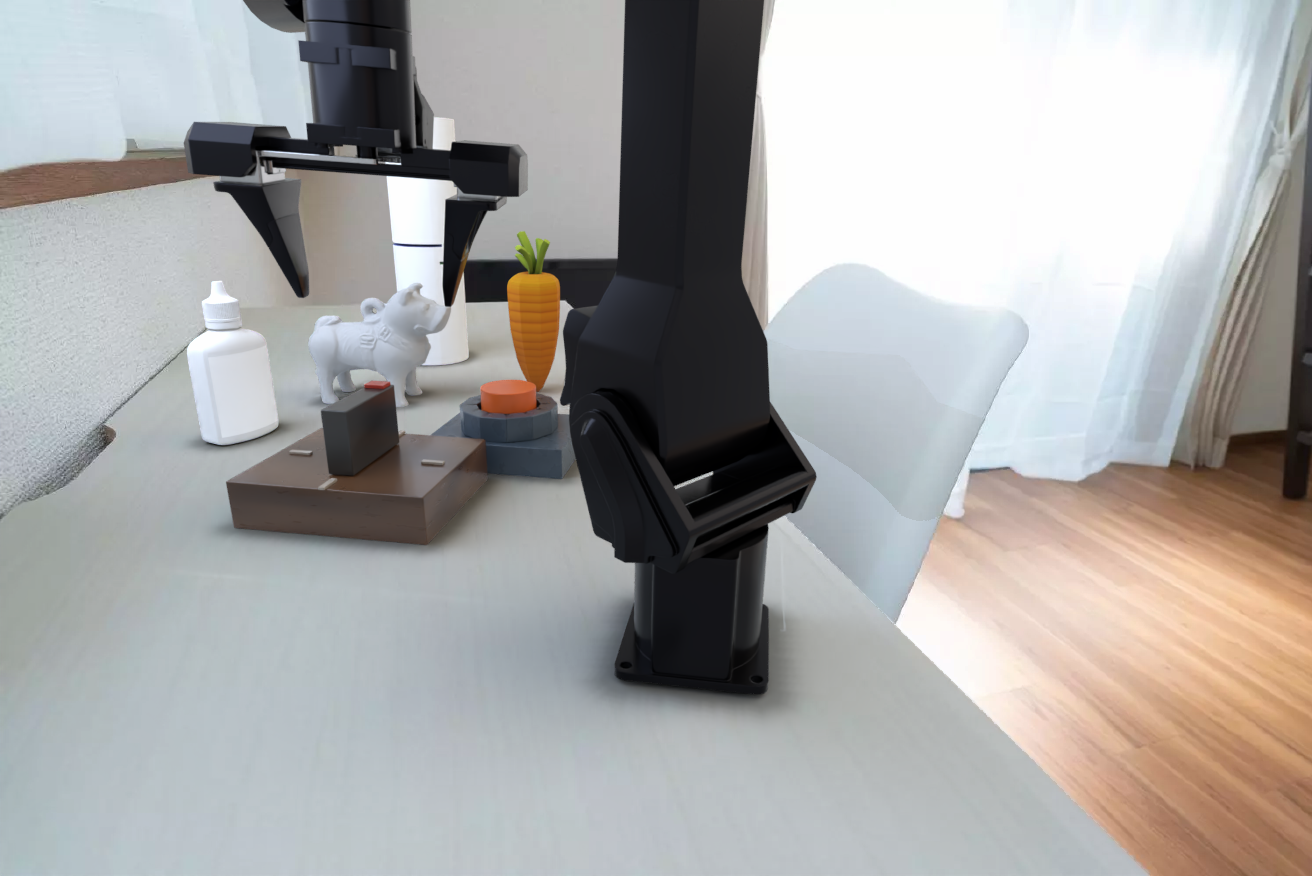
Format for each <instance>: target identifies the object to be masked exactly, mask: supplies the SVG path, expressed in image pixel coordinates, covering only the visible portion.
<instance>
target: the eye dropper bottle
mask: <svg viewBox="0 0 1312 876" xmlns="http://www.w3.org/2000/svg"><path fill="white" fill-rule="evenodd" d="M210 286H211V287H210V295H209V297H207V298H205V299H203V300H202V301H201V306H202V313H203V318H204V324H205V328H206V329H207V330H206V331H205V332H203V333H201V334H199V335H198V336H197V337H195V338H194V339H192V341H190V343H189V344H188V346H187V347H186V348H187V349H186V357H187V362H188V369H189V374H190V381H191V386H192V392H193V397H194V402H195V409H196V413H197V419H198V424H199V429H200V436H201V439H202V440H203V441H204V442H206V443H210V444H215V445H219V446H229V445H233V444H238V443H239V444H240V443H243V442H247V441H251V440H254V439H257V438H260V437H262V436H263V437H264V436H265V435H267V434H270V433H271V432H273V431H274V430H276V429H277V428H278V426H279V424H280V419H279V413H278V412H279V411H278V407H277V405H278V404H277V399H276V392H275V387H274V379H273V373H272V366H271V361H270V354H269V347H268V343H267V340H266V338H265V337H264V335H263V334H261V333H259V332H258V331H255V330H252V329H248V328H243V327H242V326H243V318H242V312H241V307H240V300H239V299H237V298H236V297H233V296H231V295H229V294H228V292H227V290H226V286H225V285H224V282H223V280H213V281H211V285H210Z"/></svg>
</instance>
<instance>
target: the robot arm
mask: <svg viewBox="0 0 1312 876" xmlns="http://www.w3.org/2000/svg"><path fill="white" fill-rule="evenodd" d="M242 2H244V4H245V5H246V7H247V8H248V9H249V11H250V12H251V14H252V15H254V16H255V18H256V19H258V20H259V21H260V22H262V23H264V24H265V25H267V26H268V27H270V28H271V29H274V30H276V31H280V32H282V33H288V34H289V33H290V34H294V33H295V34H296V33H304V37H305V40H297V42H298V52H299V61H300V62H302V63H307V70H308V71H307V72H308V80H309V91H310V104H311V114H312V122H306V123H305V127H306V138H296V137H292V136H291V134H290V131H289V129H288V127H287V126H285V125H275V124H274V125H273V124H262V123H248V122H235V121H193V122H192V124H191V125H190V127H189V128H188V130H187V131H186V135H185V138H184V140H183V147H184V155H185V161H186V168H187V173H188V174H191V175H198V176H199V175H201V176H215V177H219V180H217V181H213V182H212V184H213V189H214V191H215V192H217V193H225V194H228V195H230V196H231V197H232V199H233V201H235V203H236V204H237V205H238V207H239V208H240V209H241V212H242V213H243V214H244V215H245V217H246V218H247V219H248V220H249V222H250V223H251V224H252V226H253V228H255V230H256V231H257V232H258V234H259V236H260V237H261V239H262V240H263V242H264V243H265V245H266V247H267V248H268V250H269V251H270V254H271V255H272V257H273V259H274V260H275V262H276V263H277V266H279V269H280V270H281V272H282V274H283V275H284V277H285V279H286V280H287V283H288V284H289V286H290V287H291V288H292V290H293V292H294V294H295V295H296V297H297V298H299V299H306V298H307V297H308V296H309V295H310V273H309V265H308V259H307V253H306V246H305V241H304V240H305V239H304V234H303V228H302V223H301V216H300V209H299V208H300V206H299V204H300V195H301V187H302V179H301V178H292V177H290V178H289V177H286V175H285V173H286V172H287V170H299V171H312V172H313V171H314V172H325V173H339V174H354V175H367V176H381V177H387V176H392V177H406V178H420V179H433V180H447V181H452V182H453V183H454V187H457V194H456V195H454V196H452V197H450V198H448V199H445V224H444V231H445V232H444V253H443V282H442V286H443V295H444V304H445V307H451V306H452V305H453V304H454V301H455V298H456V294H457V291H458V288H459V285H460V281H461V278H462V275H463V272H465V268H466V265H467V262H468V259H469V255H470V252H471V249H472V245H473V243H474V241H475V238H476V236H477V234H478V231H479V230H480V227H481V225H482V223H483V221H484V219H485V217H486V215H487V213H488V212H496V211H498V210H499V209H501V208H502V207H504V206H505V205H506V204H507V202H508V198H519V197H521V196H522V195H523V194H525V193H526V192H527V191H528V189H529V188H528V187H529V160H528V153H526V151H525V150H524V149H523V148H522V147H521V145H520V144H518V143H517V144H516V143H506V142H505V143H504V142H492V141H491V142H490V141H481V140H479V141H478V140H455V142H452V144H451V150H441V149H433V126H434V117H435V113H434V111H433V109H432V107H431V106H430V104H429V102H428V101H427V99H426V97H425V95H424V94H423V93H422V91H421V88H420V84H419V82H418V71H417V70H418V69H417V66H416V56H414V55H413V35H412V14H411V13H412V12H411V11H412V10H411V9H412V8H411V0H242ZM764 6H765V0H624V19H623V20H624V21H623V23H624V24H623V59H622V91H621V92H622V93H621V127H620V161H619V195H618V224H617V225H618V228H617V229H618V230H617V231H618V233H617V261H616V268H615V273H614V275H613V277H612V279H611V281H610V283H609V284H608V286H607V288H606V290H605V291H604V294H603V296H602V297H601V299H600V301H599V303H598V304H597V305H592V306H585V307H578V308H577V307H576V308H571V309H570V310H569V311H568V312H567V315H566V319H565V321H564V324H563V329H562V339H563V340H562V341H563V348H564V358H565V359H564V361H565V374H564V385H563V387H562V391H561V394H560V398H559V403H560V405H561V406H562V407H565V406H569V409H568V414H569V425H570V435H571V441H572V445H573V449H574V453H575V458H576V459H575V461H576V465H577V469H578V473H579V478H580V482H581V486H582V491H583V494H584V499H585V502H586V503H585V504H586V506H587V511H588V514H589V518H590V519H589V520H590V523H591V526H592V527H591V528H592V531H593V533H594V535H595V536H596V537H597V538H599V539H600V540H603V541H605V542H608V543H610V544H611V548H613V549H614V552H613V554H614V559H617V560H618V561H621V562H623V563H625V564H634V588H633V589H634V593H633V603H632V608H631V611H630V614H629V617H628V621H627V623H626V626H625V630H624V633H623V636H622V639H621V642H620V645H619V649H618V652H617V655H616V658H615V661H614V676H615V677H616V678H617V679H618V680H621V681H626V682H634V683H635V682H636V683H645V684H653V685H663V686H670V687H671V686H672V687H681V688H691V689H697V690H698V689H700V690H709V691H718V692H726V693H736V694H746V695H754V696H761V695H763V694H766V693H767V692H768V689H769V681H770V679H769V677H770V676H769V673H770V672H769V667H770V666H769V665H770V664H769V663H770V661H769V657H770V656H769V655H770V653H769V652H770V651H769V649H770V648H769V647H770V644H769V643H770V638H769V637H770V635H769V633H770V632H769V631H770V629H769V628H770V627H769V626H770V623H769V622H770V618H769V617H770V616H769V615H770V614H769V613H770V612H769V610H770V609H769V606H768V605H766V604H765V603H764V592H765V580H766V566H767V556H768V555H767V554H768V543H769V531H770V529H769V524H770V523H773V522H775V521H776V520H779V519H780V518H782V517H785V516H786V515H788V514H795V513H797V512H799V511H801V510H802V509H803V508H804V505H805V503H806V501H807V499H808V497H809V496H810V493H811V491H812V489H813V487H814V486H815V483H816V481H817V479H818V477H817V472H816V470H815V468H814V467H813V465H812V464H811V463H810V461H809V459H808V458H807V456H806V455H805V452H803V450H802V448H801V447H800V445H799V444H798V442H797V441H796V439H795V438H794V436H793V435H792V433H791V432H790V429H789V428H788V427H787V426H786V424H785V422H784V420H783V419H782V417H781V416H780V414H779V413H778V411H777V409H776V408H775V407H774V405H773V404H772V402H771V395H770V373H769V372H770V371H769V348H768V347H769V346H768V340H767V337H766V335H765V332H764V329H763V327H762V325H761V322H760V320H759V318H758V315H757V313H756V310H755V308H754V306H753V303H752V300H751V298H750V296H749V293H748V290H747V288H746V286H745V284H744V280H743V270H742V269H743V268H742V266H743V265H742V263H743V262H742V261H743V252H744V251H743V249H744V239H745V227H746V226H745V225H746V214H747V204H748V192H749V180H750V170H751V158H752V149H753V148H752V145H753V136H754V135H753V134H754V124H755V111H756V100H757V88H758V77H759V65H760V54H761V42H762V33H763V31H762V29H763V18H764V8H765V7H764ZM344 146H354V147H355V150H356V151H355V152H356V154H354V155H355V156H353V155H339V154H338V155H337V154H335V147H339V148H341V147H344ZM385 162H389V163H401V165H398V164H385ZM711 473H712V474H711ZM707 474H710V475H708V476H705V477H703V478H700V479H698V478H699V477H702V476H704V475H707ZM695 479H698V480H695ZM692 480H695V481H692ZM689 481H692V482H690V483H688V484H685V485H683V486H680V485H682V484H684V483H687V482H689ZM676 486H680V487H677V488H676Z"/></svg>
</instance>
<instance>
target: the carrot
mask: <svg viewBox="0 0 1312 876" xmlns="http://www.w3.org/2000/svg"><path fill="white" fill-rule="evenodd" d="M516 237H517V239H518V241H519V243H520V244H517V245H515V246H514V249H515V251H517V252H518V253H515V254H514V257H515V258H516V259H517V260H518V261H519V262H520V264H521V265H522V266H523V267H524V268H525V269H526V271H522V272H518V273H516V274H514V275H513V276H512V277H511V278H510V279H509V280H508V282H507V285H506V293H507V307H508V319H509V329H510V334H511V339H512V345H513V348H514V353H515V356H516V359H517V363H518V366H519V368H520V370H521V372H522V375H523V376H524V378H525V381H528V382H531V383H533V384H535V386H536V393H539V392H540V391H541V390H542V389H543V387H544V386H545V384H546V382H547V379H548V377H549V375H550V373H551V370H552V367H553V364H554V360H555V357H556V351H557V346H558V338H559V332H560V320H561V319H560V318H561V317H560V315H561V313H560V312H561V286H560V285H561V284H560V281H559V279H558V278H557V277H556V276H555V275H554V274H552V273H549V272H544V271H543V265H544V260H545V257H546V254H547V251H548V249H549V247H550V244H551V241H550V240H548V239H546V238H544V239H542V238H540V237H536V238H535V249H536V254H535V251H534V248H533V246H532V243H531V241H530V239H529V237H528V235H527V233H526V231H525V230H522V231H518V232H517V233H516Z"/></svg>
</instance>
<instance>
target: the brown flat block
mask: <svg viewBox="0 0 1312 876" xmlns="http://www.w3.org/2000/svg"><path fill="white" fill-rule="evenodd" d="M398 433H399V443H398V444H397V445H395V446H394V447H392V448H391V449H390V450H388V451H387V452H386V453H384V454H383V455H381V456H380V457H379V458H377V459H376V460H375V461H373V462H372V463H370V464H369V465H368V466H366V467H365V468H364V469H362V470H361V471H359V472H358V473H357V474H355V475H354V476H349V475H336V474H329V471H328V464H327V456H326V448H325V441H324V433H323V427H320V428H319V429H318V428H317V430H315V431H313V432H311V433H309V434H307V435H306V436H304V437H302V438H301V439H298V440H297V441H294V443H292V444H290V445H288V446H287V447H285V448H283V449H281V450H279V451H277V452H275V453H274V454H272V455H270V456H268V457H266V458H265V459H263V460H262V461H260V462H258V463H256V464H254V465H253V466H251V467H249V468H248V469H246V470H243V471H242V472H240V473H238V474H237V475H235V476H233V477H232V478H230V479H228V480H226V481H225V485H226V491H227V497H228V502H229V508H230V513H231V519H232V525H233V528H234V529H240V530H241V529H243V530H253V531H265V532H278V533H286V534H298V535H309V536H310V535H311V536H319V537H320V536H321V537H333V538H343V539H355V540H366V541H376V542H388V543H398V544H409V545H410V544H411V545H420V546H427V545H429V544H430V542H431V541H432V540H433V539H434V538H435V537H437V535H438V534H439V533H440V532H441V531H442V530H443V528H444V527H446V526H447V524H449V522H450V521H451V520H453V518H454V517H455V516H456V514H457V513H458V512H459V511H461V509H462V508H463V507H464V506H465V505H466V503H468V502H469V500H471V498H472V497H473V496H474V495H475V494H476V493H477V492H478V490H479V489H480V488H481V487H482V486H484V484H485V483H486V482H487V481H488V480H489V478H488V477H489V474H488V473H487V457H486V440H485V439H474V438H460V437H446V436H431V434H416V433H415V434H414V433H406V430H401V429H400V430H398Z"/></svg>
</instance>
